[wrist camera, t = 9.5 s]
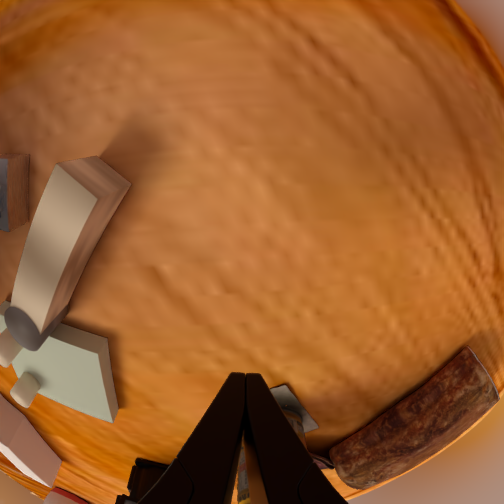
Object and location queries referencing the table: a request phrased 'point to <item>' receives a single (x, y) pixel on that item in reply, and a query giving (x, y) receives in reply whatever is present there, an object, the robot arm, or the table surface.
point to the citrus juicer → (62, 498)
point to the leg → (61, 245)
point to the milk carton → (26, 446)
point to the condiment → (298, 421)
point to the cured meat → (415, 425)
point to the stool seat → (62, 370)
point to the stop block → (13, 191)
